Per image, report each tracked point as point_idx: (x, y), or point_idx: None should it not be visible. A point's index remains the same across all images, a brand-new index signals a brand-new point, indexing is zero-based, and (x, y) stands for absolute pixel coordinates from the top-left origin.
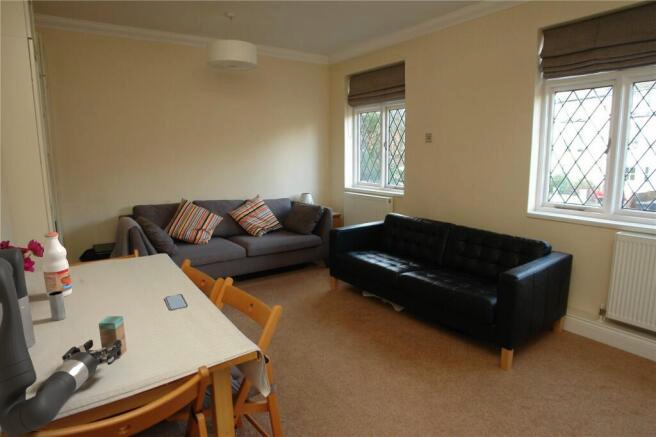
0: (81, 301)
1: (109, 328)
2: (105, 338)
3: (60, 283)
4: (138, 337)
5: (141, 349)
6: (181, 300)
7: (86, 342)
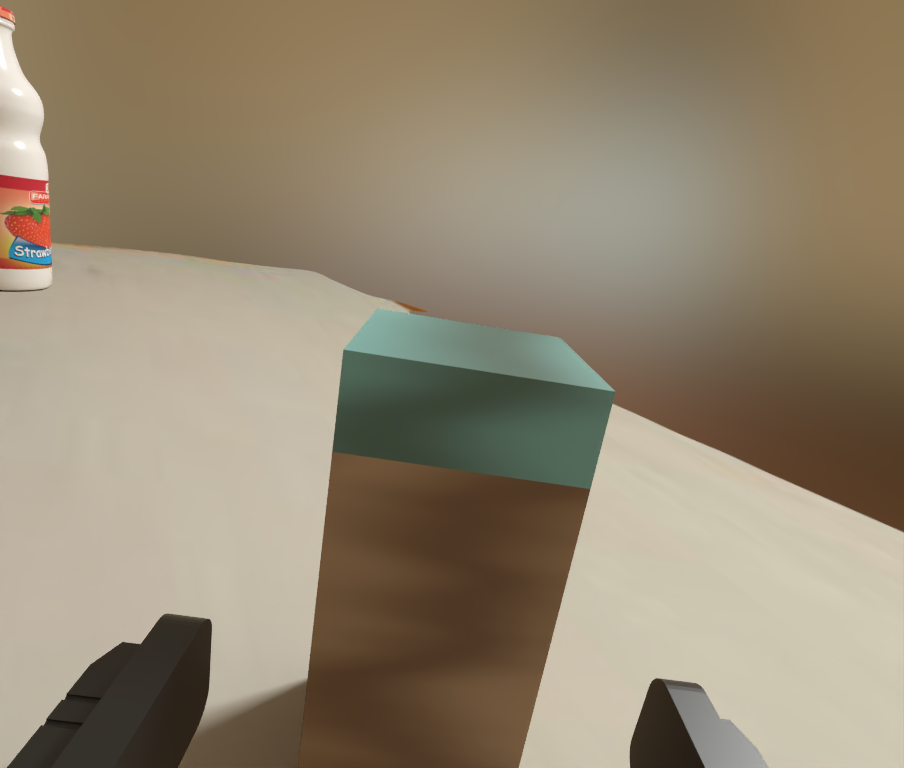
0: (84, 314)
1: (498, 463)
2: (393, 599)
3: (4, 230)
4: None
5: (612, 693)
6: None
7: (98, 675)
